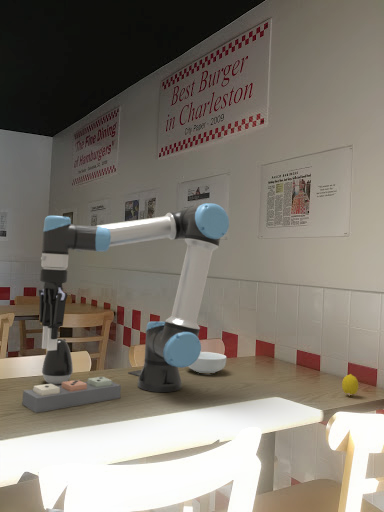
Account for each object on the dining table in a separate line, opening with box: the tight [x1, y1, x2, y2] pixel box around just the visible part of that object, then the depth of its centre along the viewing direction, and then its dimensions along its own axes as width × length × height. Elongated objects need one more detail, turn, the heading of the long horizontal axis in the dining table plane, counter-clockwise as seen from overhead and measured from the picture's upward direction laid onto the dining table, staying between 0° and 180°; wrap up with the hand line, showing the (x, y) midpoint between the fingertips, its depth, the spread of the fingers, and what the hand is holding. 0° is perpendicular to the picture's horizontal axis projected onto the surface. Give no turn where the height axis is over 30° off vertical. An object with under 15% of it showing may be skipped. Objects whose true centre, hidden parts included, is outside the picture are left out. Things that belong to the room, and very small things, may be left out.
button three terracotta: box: [61, 379, 87, 392], centre depth 147 cm, size 6×6×3 cm
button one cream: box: [32, 383, 60, 396], centre depth 141 cm, size 6×6×3 cm
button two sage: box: [86, 376, 113, 388], centre depth 153 cm, size 6×6×3 cm
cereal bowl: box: [188, 351, 227, 374], centre depth 197 cm, size 17×17×7 cm
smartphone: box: [127, 369, 142, 378], centre depth 190 cm, size 7×1×15 cm
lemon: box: [341, 373, 359, 395], centre depth 172 cm, size 6×6×8 cm
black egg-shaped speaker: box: [41, 338, 74, 386], centre depth 167 cm, size 10×10×15 cm
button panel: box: [21, 381, 122, 414], centre depth 147 cm, size 28×9×4 cm, turn 133°
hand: (49, 349), depth 141 cm, fingers open, 3 cm apart
